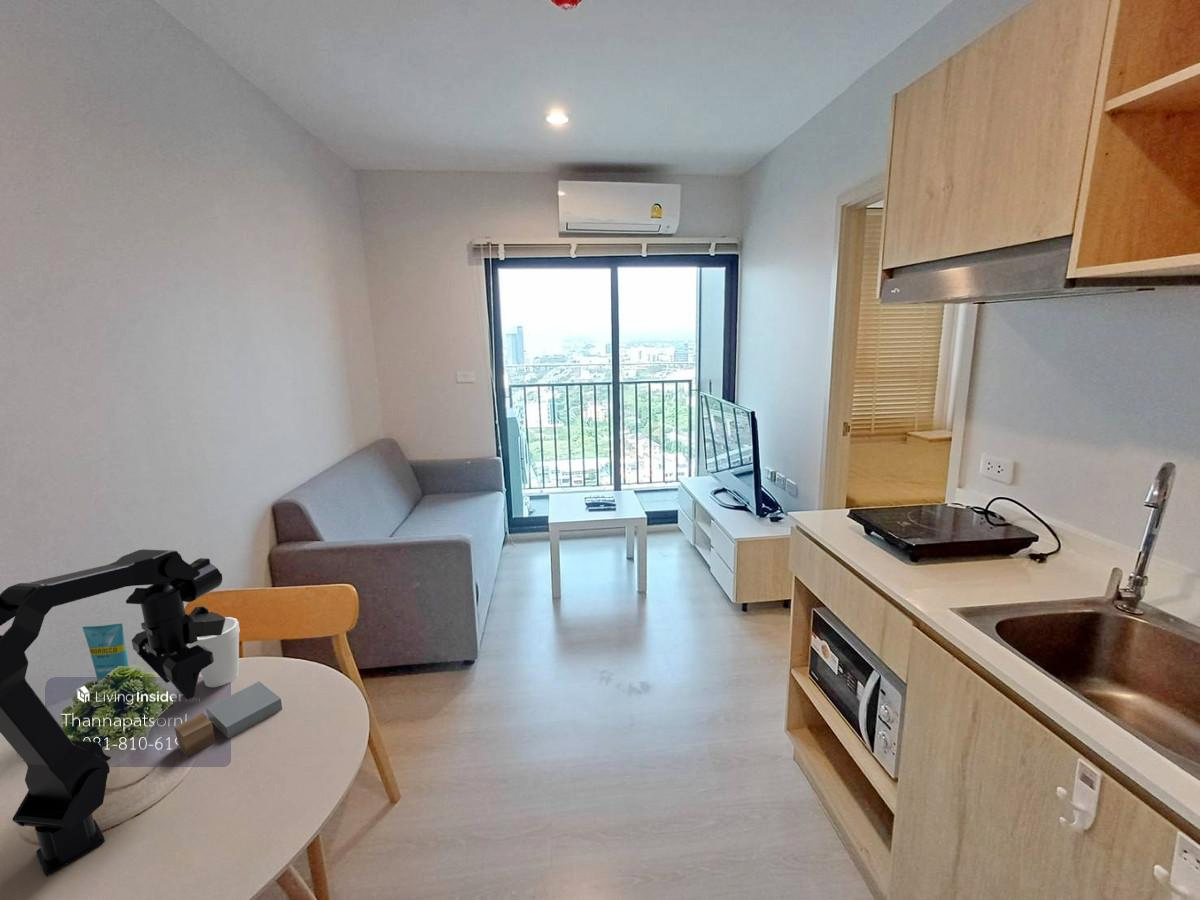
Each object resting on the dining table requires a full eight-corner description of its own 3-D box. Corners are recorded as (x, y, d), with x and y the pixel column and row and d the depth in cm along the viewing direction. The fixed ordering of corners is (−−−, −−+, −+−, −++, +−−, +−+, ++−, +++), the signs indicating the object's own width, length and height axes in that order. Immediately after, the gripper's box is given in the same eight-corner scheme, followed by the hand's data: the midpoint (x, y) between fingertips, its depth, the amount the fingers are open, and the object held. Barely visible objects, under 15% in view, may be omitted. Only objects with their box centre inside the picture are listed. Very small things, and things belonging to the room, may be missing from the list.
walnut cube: (215, 742, 99) (211, 722, 98) (187, 757, 95) (183, 736, 94) (206, 732, 101) (202, 712, 100) (178, 746, 98) (174, 726, 97)
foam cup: (249, 678, 118) (241, 628, 115) (200, 697, 111) (190, 645, 108) (241, 660, 124) (233, 612, 121) (194, 678, 118) (184, 627, 115)
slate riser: (282, 708, 108) (280, 698, 107) (228, 738, 100) (226, 727, 99) (260, 691, 113) (259, 681, 113) (207, 718, 105) (205, 707, 105)
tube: (92, 715, 106) (72, 632, 102) (108, 699, 111) (89, 620, 107) (133, 709, 108) (115, 628, 104) (147, 694, 112) (131, 616, 108)
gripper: (238, 608, 95) (251, 682, 98) (194, 584, 104) (206, 652, 107) (165, 638, 85) (181, 718, 88) (123, 608, 95) (139, 682, 98)
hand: (179, 689), depth 96 cm, fingers open, 9 cm apart
